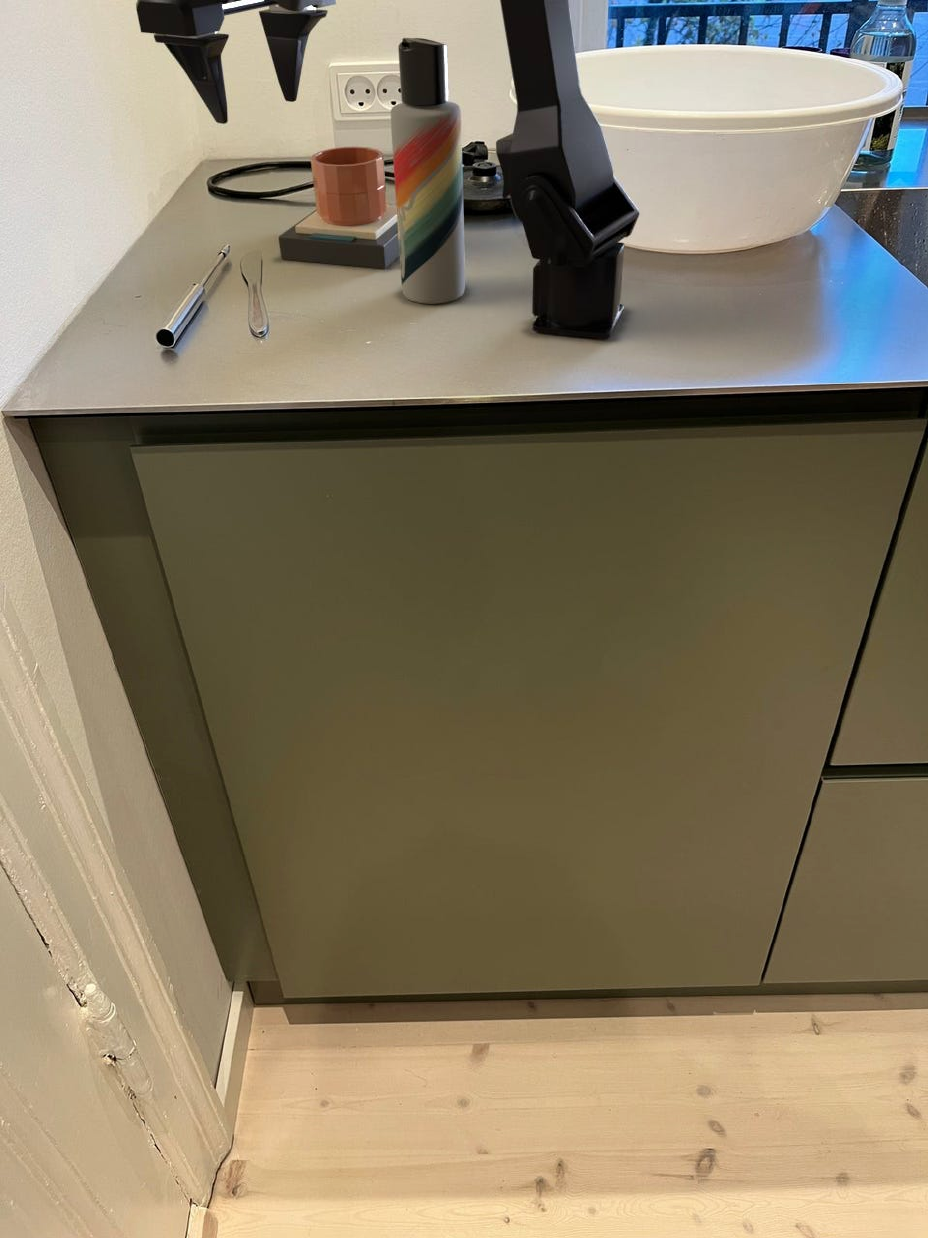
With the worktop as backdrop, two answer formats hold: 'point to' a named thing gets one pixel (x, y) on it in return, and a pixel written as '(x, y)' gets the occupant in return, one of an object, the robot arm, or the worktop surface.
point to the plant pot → (349, 185)
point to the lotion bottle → (428, 176)
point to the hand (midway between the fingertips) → (257, 111)
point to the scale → (343, 241)
